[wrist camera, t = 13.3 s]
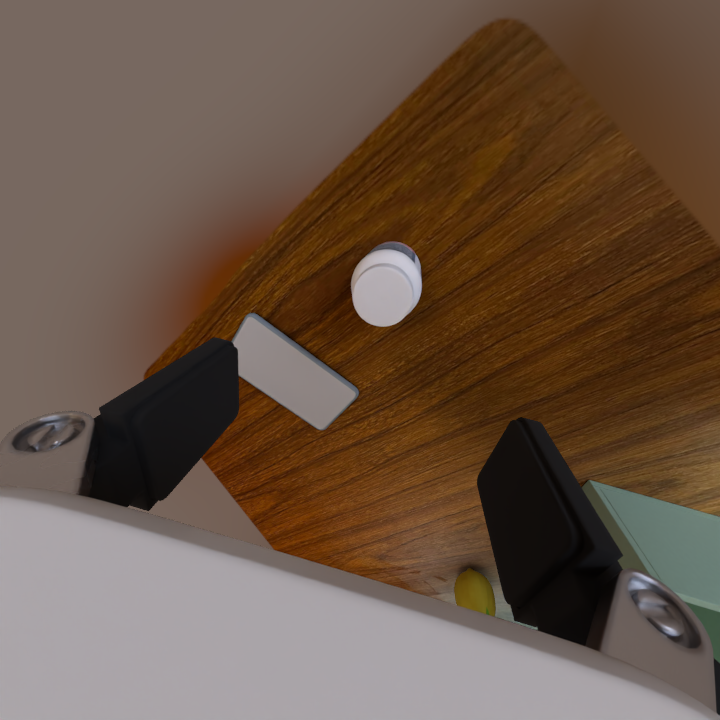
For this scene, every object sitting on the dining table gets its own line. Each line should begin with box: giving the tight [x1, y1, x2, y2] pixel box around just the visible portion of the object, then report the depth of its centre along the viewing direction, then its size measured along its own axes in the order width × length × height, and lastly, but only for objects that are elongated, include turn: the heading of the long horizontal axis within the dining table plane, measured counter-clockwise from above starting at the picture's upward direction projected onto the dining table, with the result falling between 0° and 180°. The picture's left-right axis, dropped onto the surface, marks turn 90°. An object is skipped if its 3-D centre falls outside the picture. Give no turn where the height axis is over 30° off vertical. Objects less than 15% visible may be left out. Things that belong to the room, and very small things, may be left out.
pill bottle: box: [351, 242, 422, 327], centre depth 22 cm, size 5×5×9 cm
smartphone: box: [231, 313, 359, 430], centre depth 33 cm, size 8×1×15 cm
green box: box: [582, 480, 720, 663], centre depth 31 cm, size 15×16×11 cm
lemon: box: [454, 568, 496, 617], centre depth 40 cm, size 7×6×10 cm
